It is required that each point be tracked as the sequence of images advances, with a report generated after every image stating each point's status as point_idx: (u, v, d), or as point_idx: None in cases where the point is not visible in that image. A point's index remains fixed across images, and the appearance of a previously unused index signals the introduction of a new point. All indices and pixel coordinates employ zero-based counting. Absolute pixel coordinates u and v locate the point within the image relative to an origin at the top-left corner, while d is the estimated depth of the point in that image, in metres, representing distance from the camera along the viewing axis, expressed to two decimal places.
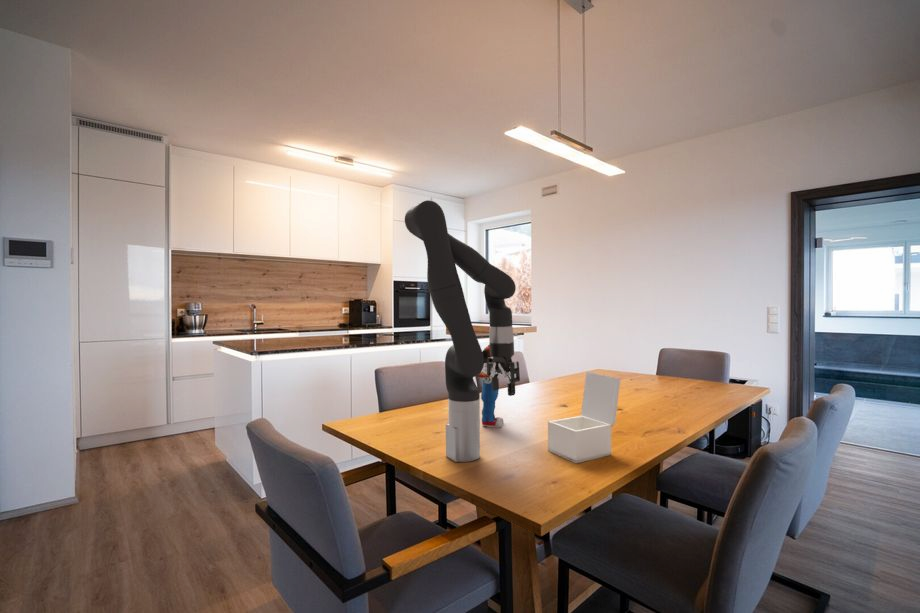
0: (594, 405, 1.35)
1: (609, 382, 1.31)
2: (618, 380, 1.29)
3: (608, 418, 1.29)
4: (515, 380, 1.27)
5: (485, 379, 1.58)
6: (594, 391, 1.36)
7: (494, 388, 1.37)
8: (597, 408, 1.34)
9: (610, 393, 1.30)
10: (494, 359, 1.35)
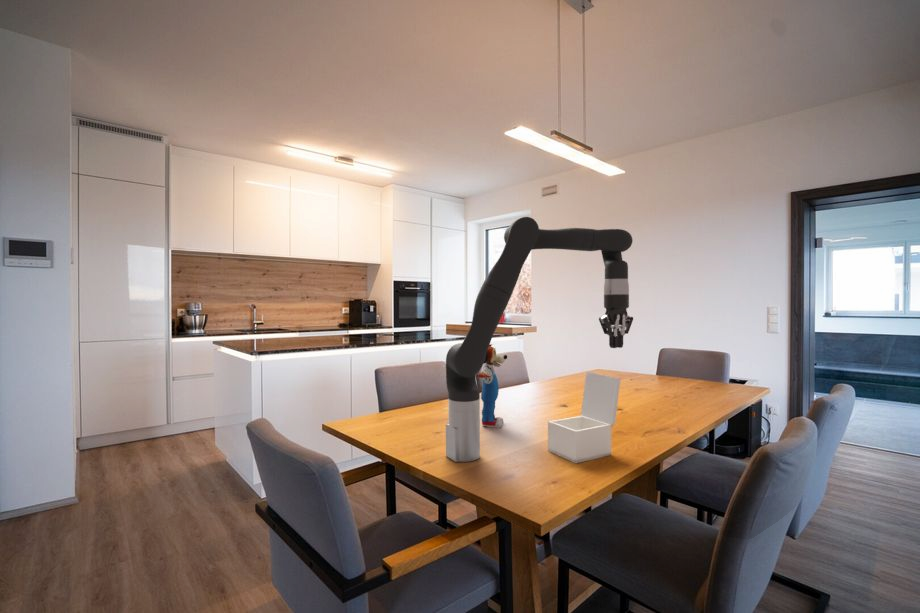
0: (594, 405, 1.35)
1: (609, 382, 1.31)
2: (618, 380, 1.29)
3: (608, 418, 1.29)
4: None
5: (485, 379, 1.58)
6: (594, 391, 1.36)
7: None
8: (597, 408, 1.34)
9: (610, 393, 1.30)
10: (612, 312, 1.35)
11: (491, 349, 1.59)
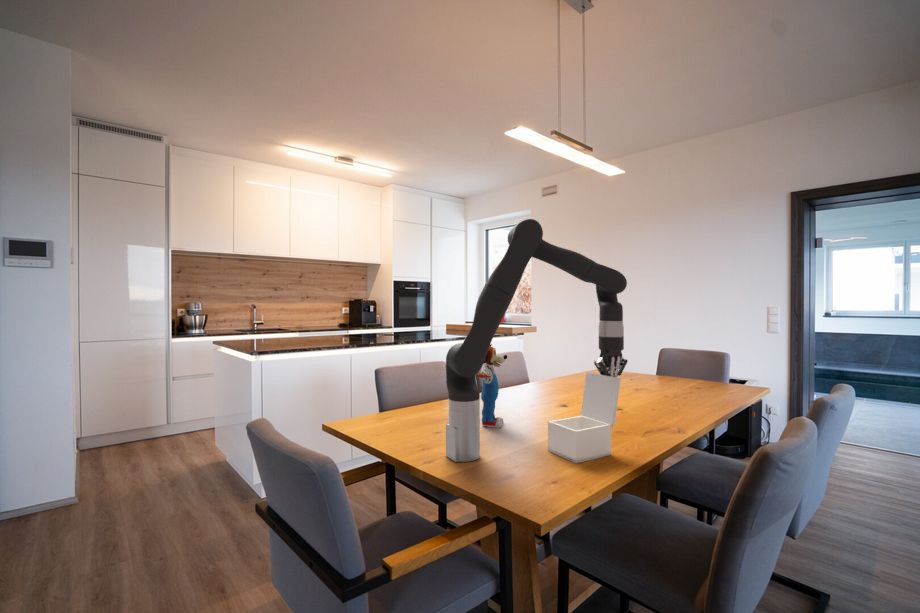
0: (594, 405, 1.35)
1: (609, 382, 1.31)
2: (618, 380, 1.29)
3: (608, 418, 1.29)
4: None
5: (485, 379, 1.58)
6: (594, 391, 1.36)
7: None
8: (597, 408, 1.34)
9: (610, 393, 1.30)
10: (606, 354, 1.34)
11: (491, 349, 1.59)
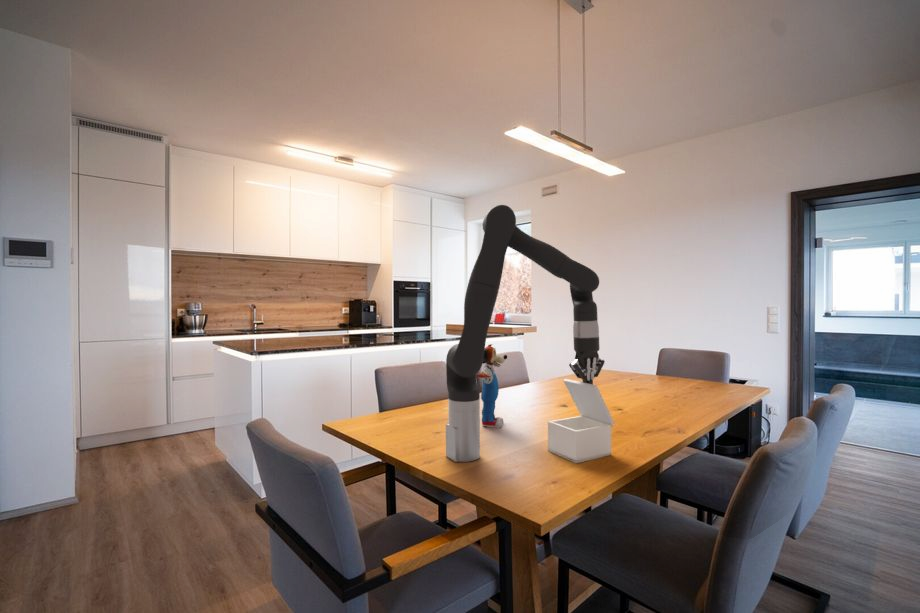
0: (587, 408, 1.33)
1: (588, 390, 1.27)
2: (595, 388, 1.24)
3: (605, 419, 1.29)
4: None
5: (485, 379, 1.58)
6: (580, 397, 1.33)
7: None
8: (591, 411, 1.32)
9: (595, 399, 1.27)
10: (581, 356, 1.29)
11: (491, 349, 1.59)
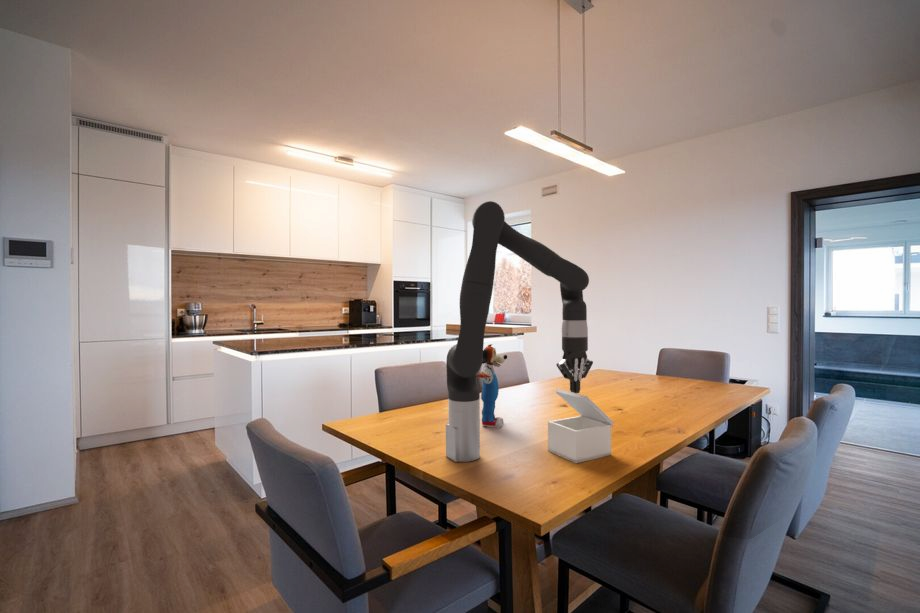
0: (585, 411, 1.33)
1: (581, 400, 1.26)
2: (587, 399, 1.23)
3: (604, 420, 1.29)
4: None
5: (485, 379, 1.58)
6: (575, 403, 1.32)
7: None
8: (589, 413, 1.32)
9: (589, 407, 1.26)
10: (569, 355, 1.26)
11: (491, 349, 1.59)
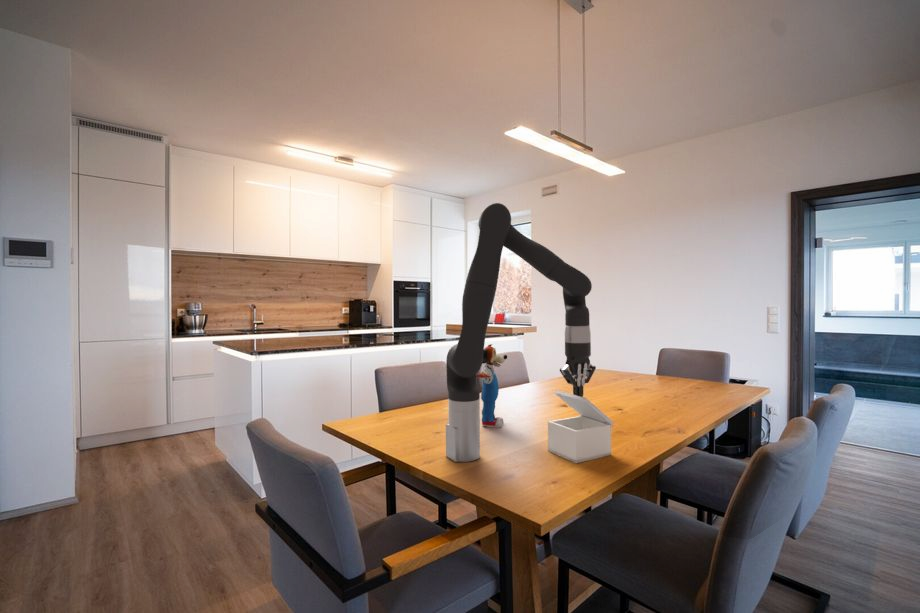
0: (584, 412, 1.33)
1: (580, 402, 1.26)
2: (586, 401, 1.23)
3: (604, 421, 1.29)
4: None
5: (485, 379, 1.58)
6: (574, 404, 1.32)
7: None
8: (589, 414, 1.32)
9: (589, 408, 1.26)
10: (572, 361, 1.27)
11: (491, 349, 1.59)
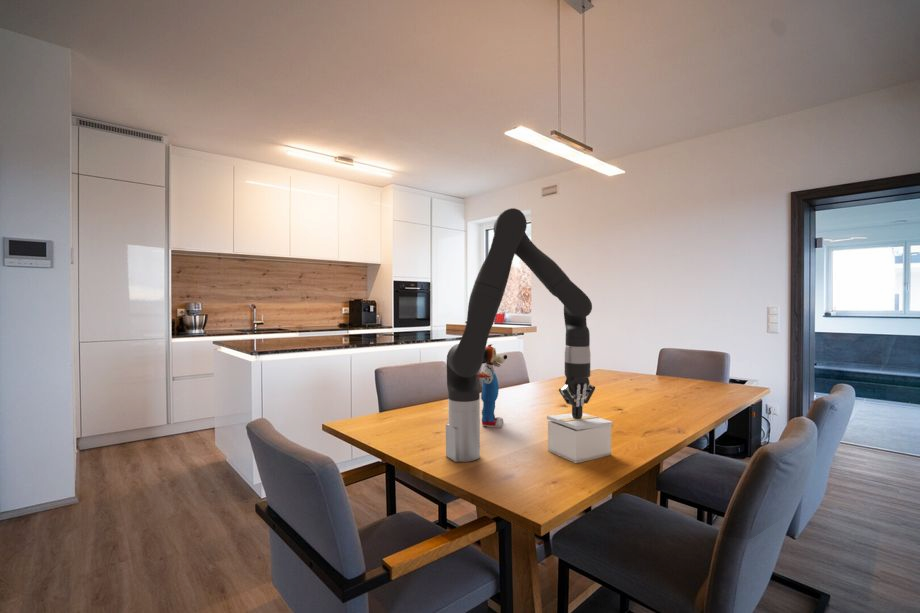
0: None
1: None
2: (579, 428, 1.21)
3: None
4: None
5: (485, 379, 1.58)
6: None
7: None
8: None
9: None
10: (572, 381, 1.27)
11: (491, 349, 1.59)
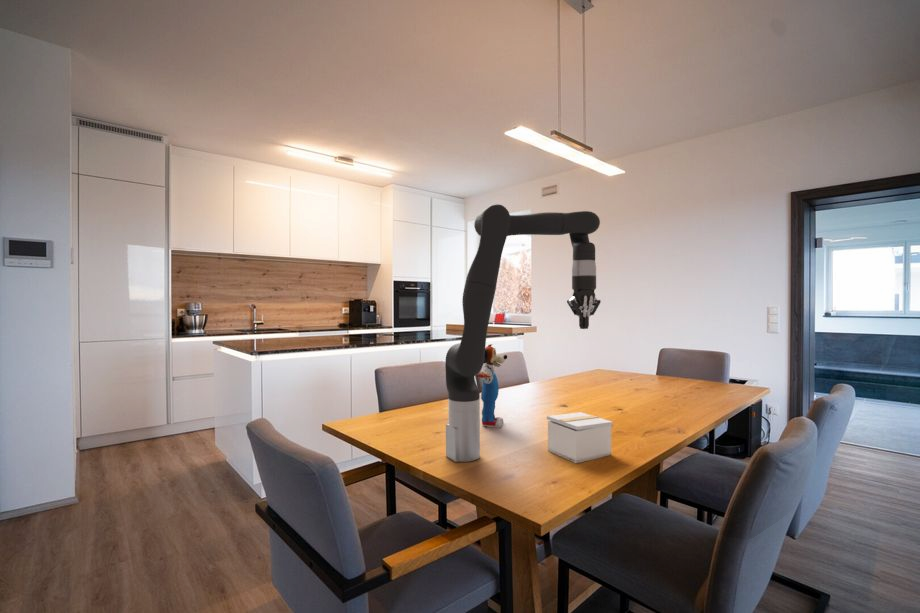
0: None
1: None
2: (579, 428, 1.21)
3: None
4: None
5: (485, 379, 1.58)
6: None
7: None
8: None
9: None
10: (579, 293, 1.36)
11: (491, 349, 1.59)
